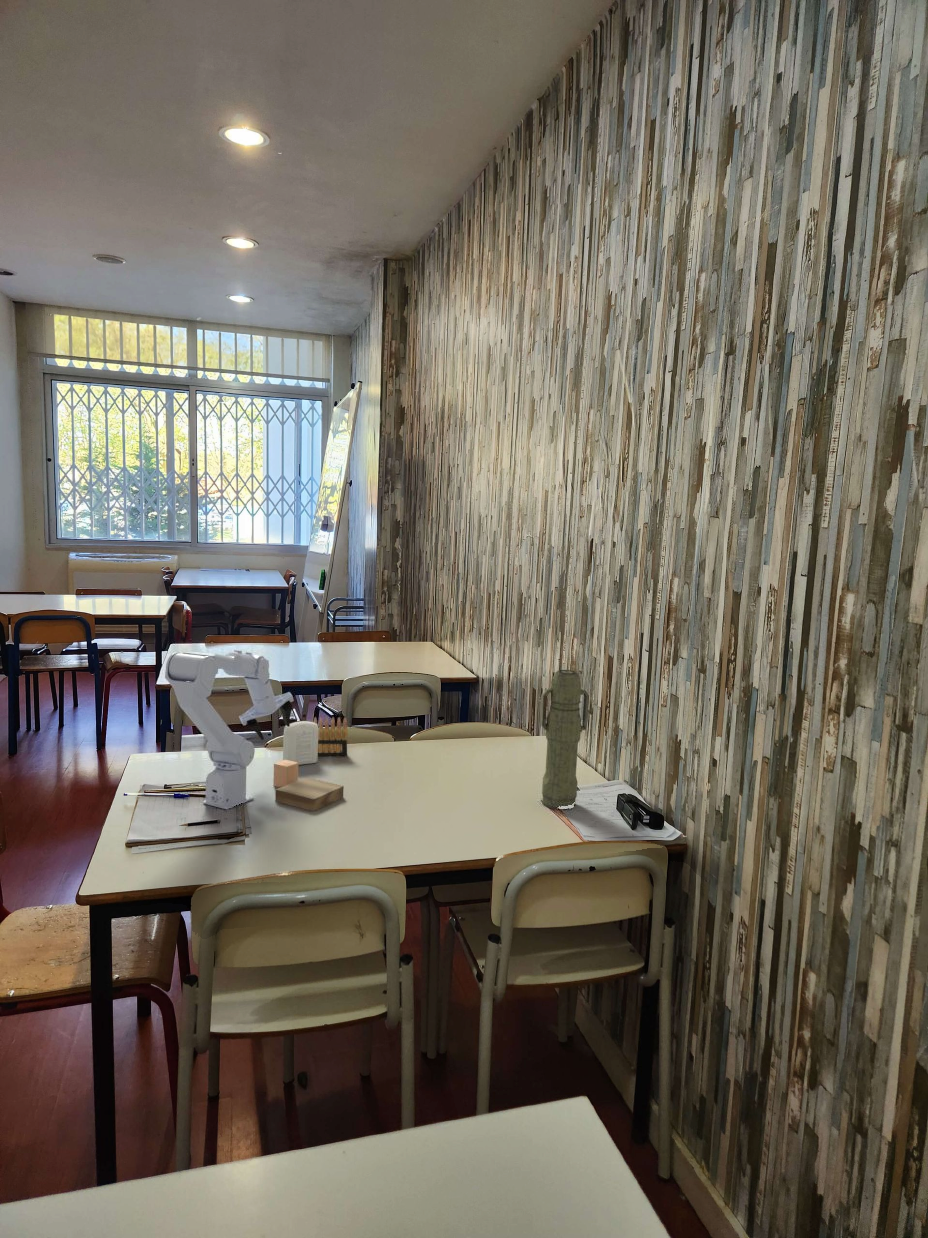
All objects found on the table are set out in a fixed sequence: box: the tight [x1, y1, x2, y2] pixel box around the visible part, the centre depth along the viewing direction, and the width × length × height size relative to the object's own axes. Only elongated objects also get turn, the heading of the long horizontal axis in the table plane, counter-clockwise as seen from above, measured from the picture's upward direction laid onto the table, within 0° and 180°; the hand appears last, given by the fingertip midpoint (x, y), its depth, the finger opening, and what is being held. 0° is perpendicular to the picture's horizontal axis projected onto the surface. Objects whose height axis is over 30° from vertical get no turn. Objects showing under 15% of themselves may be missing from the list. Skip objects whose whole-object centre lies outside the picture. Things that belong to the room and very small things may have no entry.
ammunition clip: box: [313, 716, 348, 758], centre depth 237 cm, size 11×2×12 cm, turn 101°
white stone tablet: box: [282, 720, 319, 766], centre depth 228 cm, size 10×4×12 cm, turn 123°
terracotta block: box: [273, 759, 299, 788], centre depth 209 cm, size 4×4×6 cm
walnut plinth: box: [274, 776, 344, 812], centre depth 199 cm, size 12×12×3 cm
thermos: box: [540, 669, 590, 810], centre depth 203 cm, size 9×12×35 cm
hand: (274, 731), depth 213 cm, fingers open, 7 cm apart
